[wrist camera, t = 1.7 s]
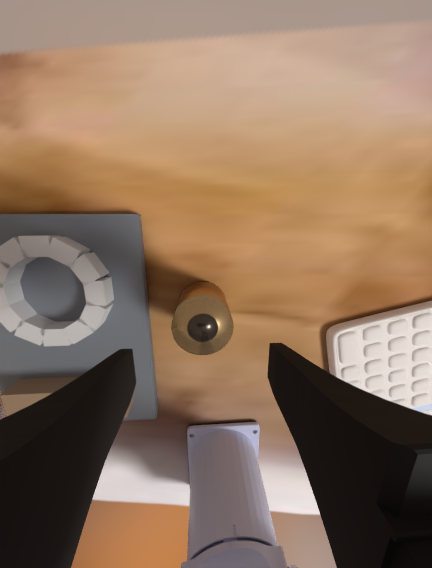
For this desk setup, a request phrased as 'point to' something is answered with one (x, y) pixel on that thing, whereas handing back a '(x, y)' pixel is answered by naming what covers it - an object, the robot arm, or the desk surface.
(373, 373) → the white flat slab
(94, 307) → the jig
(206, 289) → the bushing
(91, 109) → the desk surface
